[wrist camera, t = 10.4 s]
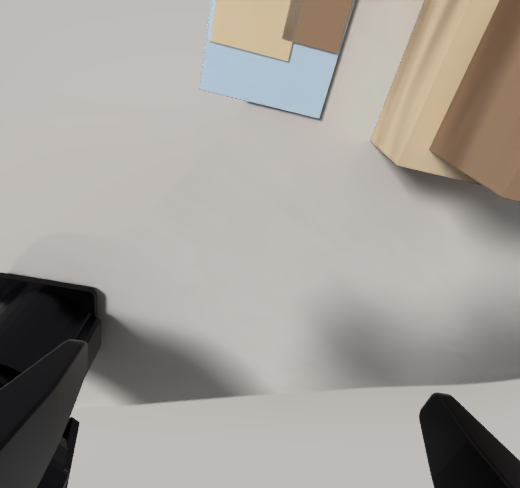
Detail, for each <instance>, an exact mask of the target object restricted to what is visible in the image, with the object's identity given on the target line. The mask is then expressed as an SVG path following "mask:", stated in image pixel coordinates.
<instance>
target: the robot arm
mask: <svg viewBox="0 0 520 488" xmlns="http://www.w3.org/2000/svg"><path fill="white" fill-rule="evenodd" d="M86 294H88V295H89V296H87V295H86ZM100 345H101V320H100V318H99V317H97V293H96V291H95V290H94V289H92V288H90V287H84V286H78V285H72V284H66V283H60V282H54V281H48V280H42V279H36V278H30V277H24V276H18V275H12V274H6V273H0V488H67V484H68V479H69V474H70V469H71V463H72V458H73V453H74V448H75V443H76V438H77V433H78V427H79V422H78V421H77V420H75V419H74V418H72V417H71V418H69V417H70V415H71V412H72V409H73V407H74V404H75V402H76V399H77V396H78V394H79V391H80V388H81V386H82V383H83V380H84V378H85V376H86V374H87V372H88V370H89V368H90V366H91V364H92V362H93V360H94V359H95V357H96V354H97V352H98V350H99V348H100ZM419 418H420V424H421V429H422V434H423V439H424V443H425V448H426V453H427V457H428V463H429V467H430V472H431V476H432V480H433V484H434V488H520V461H519V460H518V459H517V458H516V457H515V456H514V455H513V454H512V453H511V452H510V451H509V450H508V449H507V448H506V447H505V446H503V444H501V443H500V442H499V441H498V440H497V439H496V438H495V437H494V436H493V435H492V434H491V433H490V432H489V431H488V430H487V429H486V428H485V427H484V426H483V425H482V424H481V423H479V422H478V421H477V420H476V419H475V418H474V417H473V416H472V415H471V414H470V413H469V412H468V411H467V410H466V409H465V408H464V407H463V406H462V405H461V404H460V403H459V402H458V401H456V400H455V399H454V398H453V397H452V396H451V395H448V394H443V393H434V394H432V395H431V397H430V398H429V399H428V401H427V402H426V404H425V405H424V406H423V407H422V409H421V411H420V415H419Z"/></svg>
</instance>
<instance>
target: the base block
mask: <svg viewBox="0 0 520 488" xmlns="http://www.w3.org/2000/svg"><path fill="white" fill-rule="evenodd" d="M498 2H499V0H425V1H424V4H423V6H422V9H421V12H420V14H419V17H418V19H417V22H416V24H415V27H414V30H413V32H412V35H411V37H410V40H409V43H408V45H407V48H406V50H405V53H404V56H403V58H402V61H401V63H400V66H399V68H398V71H397V74H396V76H395V79H394V81H393V84H392V87H391V89H390V92H389V94H388V97H387V100H386V102H385V105H384V107H383V110H382V112H381V115H380V118H379V120H378V123H377V125H376V128H375V131H374V133H373V136H372V138H371V142H372V143H373V144H374V145H375V146H377V147H378V148H379V149H380V150H381V151H382V152H383V153H384V154H385V155H386V156H387V157H389V158H390V159H391V160H392V161H393V162H394V163H395V164H396V165H397V166H402V167H406V168H410V169H415V170H419V171H423V172H428V173H432V174H436V175H440V176H445V177H449V178H453V179H458V180H462V181H466V182H471V183H475V184H479V185H482V184H481V183H479V182H478V181H476V180H475V179H473V178H472V177H470V176H469V175H467V174H466V173H464V172H462V171H461V170H459V169H458V168H456V167H455V166H453V165H452V164H450V163H449V162H447V161H446V160H444V159H443V158H441V157H440V156H438V155H437V154H435V153H434V152H432V151H431V150H429V148H430V146H431V144H432V142H433V140H434V138H435V135H436V133H437V131H438V129H439V127H440V125H441V123H442V121H443V119H444V116H445V114H446V112H447V110H448V108H449V106H450V104H451V102H452V100H453V97H454V95H455V93H456V91H457V89H458V87H459V85H460V83H461V81H462V78H463V76H464V74H465V72H466V70H467V68H468V66H469V64H470V61H471V59H472V57H473V55H474V53H475V51H476V49H477V47H478V45H479V42H480V40H481V38H482V36H483V34H484V32H485V30H486V28H487V26H488V23H489V21H490V19H491V17H492V15H493V13H494V11H495V9H496V7H497V4H498ZM483 186H484V185H483Z"/></svg>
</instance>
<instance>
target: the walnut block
mask: <svg viewBox="0 0 520 488" xmlns="http://www.w3.org/2000/svg"><path fill="white" fill-rule="evenodd" d="M429 150H431V151H432V152H434V153H435V154H437V155H438V156H440V157H441V158H443V159H444V160H446V161H447V162H449V163H450V164H452V165H453V166H455V167H456V168H458V169H459V170H461V171H462V172H464V173H466V174H467V175H469V176H470V177H472V178H473V179H475V180H476V181H478V182H479V183H481V184H482V185H484V186H485V187H487V188H488V189H490V190H491V191H493V192H494V193H496V194H497V195H499V196H500V197H503V198H507V199H512V200H516V201H520V0H499V2H498V4H497V7H496V9H495V11H494V13H493V15H492V17H491V19H490V21H489V23H488V26H487V28H486V30H485V32H484V34H483V36H482V38H481V40H480V42H479V45H478V47H477V49H476V51H475V53H474V55H473V57H472V59H471V61H470V64H469V66H468V68H467V70H466V72H465V74H464V76H463V78H462V81H461V83H460V85H459V87H458V89H457V91H456V93H455V95H454V97H453V100H452V102H451V104H450V106H449V108H448V110H447V112H446V114H445V116H444V119H443V121H442V123H441V125H440V127H439V129H438V131H437V133H436V135H435V138H434V140H433V142H432V144H431V146H430V148H429Z"/></svg>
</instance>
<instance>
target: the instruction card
mask: <svg viewBox="0 0 520 488" xmlns="http://www.w3.org/2000/svg"><path fill="white" fill-rule="evenodd" d="M354 2H355V0H211V5H210V13H209V20H208V28H207V35H206V43H205V51H204V58H203V66H202V73H201V81H200V88H199V89H200V90H204V91H208V92H212V93H216V94H220V95H224V96H228V97H232V98H236V99H241V100H245V101H249V102H253V103H257V104H261V105H265V106H269V107H273V108H278V109H282V110H286V111H290V112H294V113H298V114H302V115H306V116H310V117H315V118H320V114H321V111H322V108H323V105H324V101H325V98H326V95H327V91H328V88H329V85H330V81H331V78H332V75H333V72H334V68H335V65H336V62H337V58H338V55H339V52H340V49H341V45H342V42H343V39H344V35H345V32H346V29H347V26H348V22H349V19H350V16H351V12H352V9H353V6H354Z"/></svg>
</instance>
